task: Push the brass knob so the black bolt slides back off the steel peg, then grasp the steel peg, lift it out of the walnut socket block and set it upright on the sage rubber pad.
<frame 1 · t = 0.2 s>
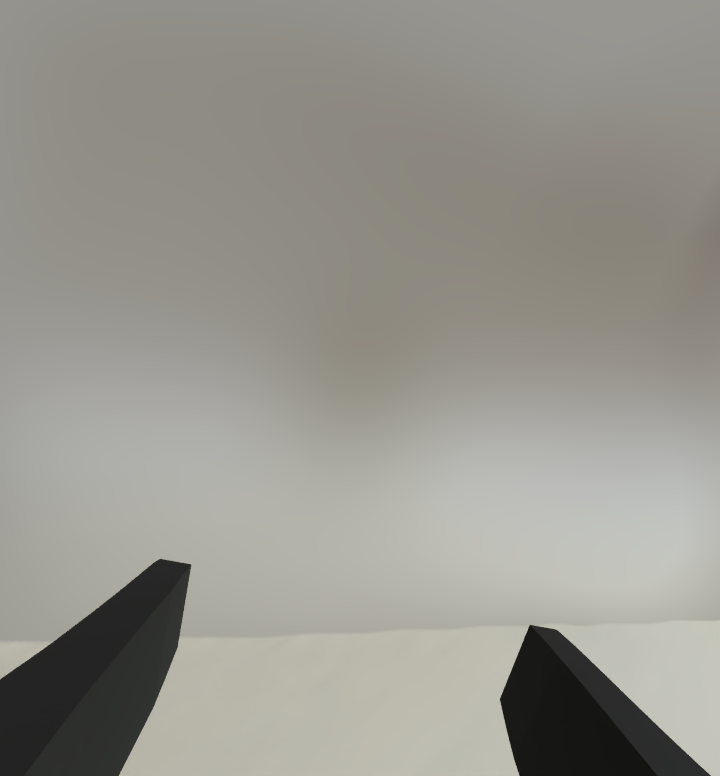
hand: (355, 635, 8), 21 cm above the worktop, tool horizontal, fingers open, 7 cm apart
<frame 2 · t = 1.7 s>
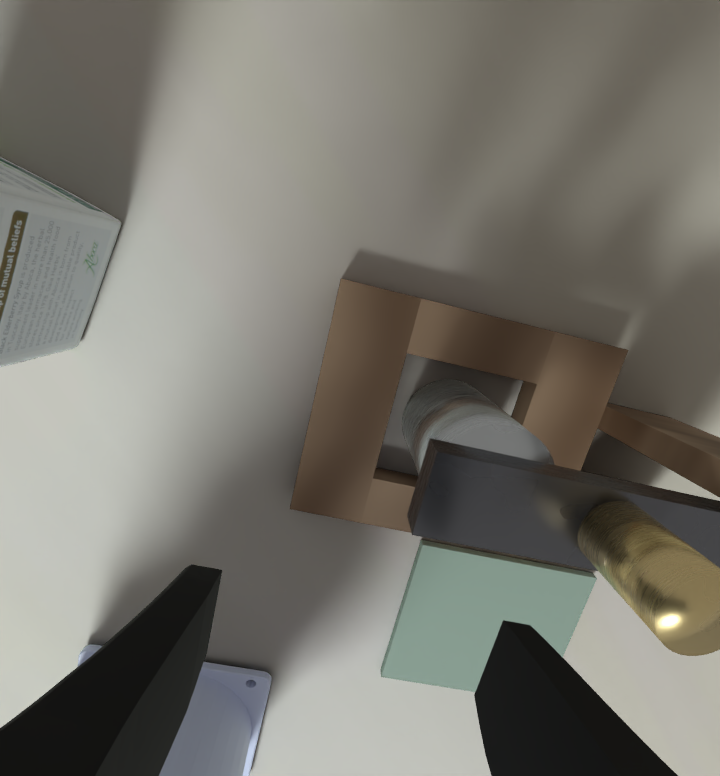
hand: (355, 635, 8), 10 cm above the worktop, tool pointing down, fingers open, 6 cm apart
black bolt: (690, 566, 11), point 8 cm above the worktop, slide at 0.0 cm
syrup box: (36, 256, 16), on the worktop
sage rubber pad: (483, 622, 21), on the worktop
walnut socket block: (446, 422, 18), on the worktop
steel peg: (446, 422, 19), resting in walnut socket block
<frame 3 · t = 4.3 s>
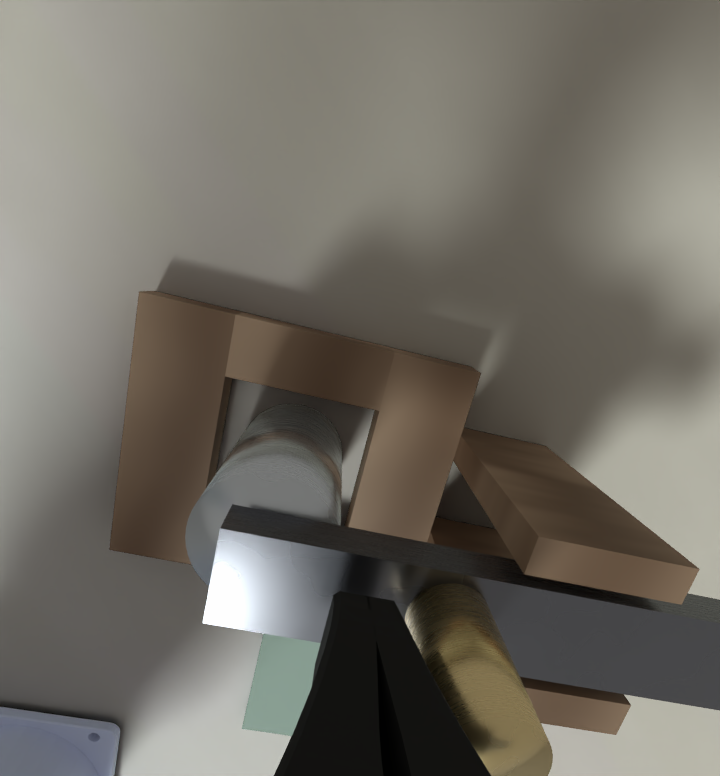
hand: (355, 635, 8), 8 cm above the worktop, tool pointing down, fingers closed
black bolt: (525, 668, 9), point 9 cm above the worktop, slide at 1.6 cm, touching gripper
sage rubber pad: (354, 669, 19), on the worktop
walnut socket block: (292, 452, 16), on the worktop
steel peg: (292, 451, 16), resting in walnut socket block
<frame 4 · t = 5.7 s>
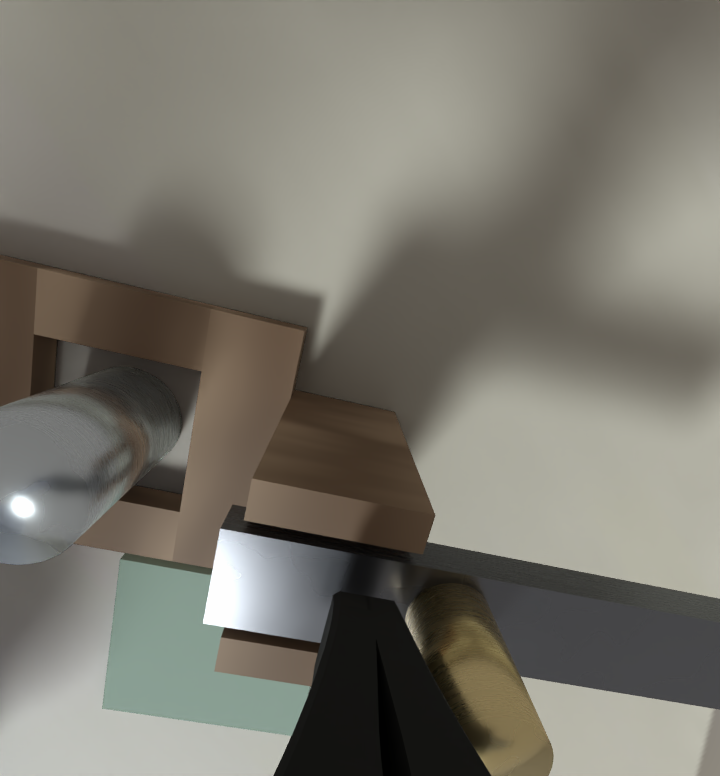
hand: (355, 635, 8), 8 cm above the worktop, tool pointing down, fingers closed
black bolt: (526, 668, 9), point 8 cm above the worktop, slide at 8.0 cm, touching gripper
sage rubber pad: (217, 646, 19), on the worktop
walnut socket block: (128, 418, 16), on the worktop
steel peg: (128, 417, 16), resting in walnut socket block
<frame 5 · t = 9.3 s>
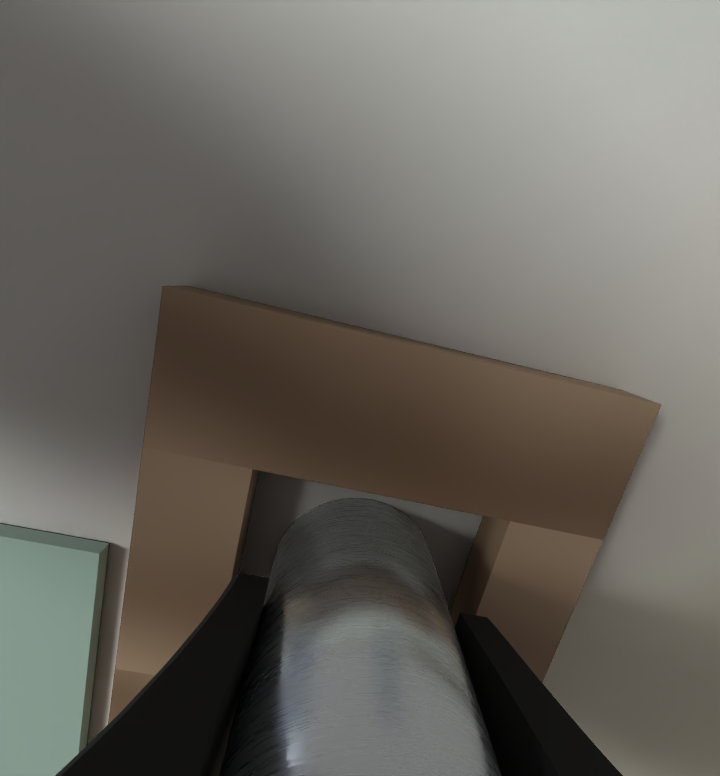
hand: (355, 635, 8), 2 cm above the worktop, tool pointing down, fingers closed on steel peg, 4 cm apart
walnut socket block: (353, 569, 10), on the worktop
steel peg: (353, 569, 10), resting in walnut socket block, touching gripper
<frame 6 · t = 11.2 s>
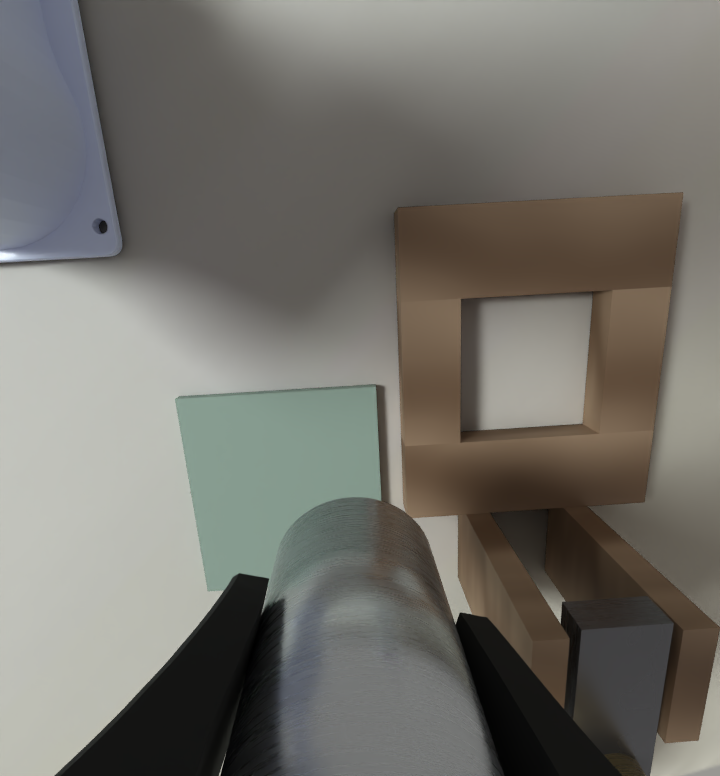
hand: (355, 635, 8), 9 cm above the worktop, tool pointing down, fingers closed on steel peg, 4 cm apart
sage rubber pad: (288, 490, 18), on the worktop
walnut socket block: (520, 363, 17), on the worktop
steel peg: (354, 568, 10), point 7 cm above the worktop, touching gripper
when the fingers open (4 cm above the worktop, at t = 12.9 s): steel peg drops 1 cm, resting on sage rubber pad.
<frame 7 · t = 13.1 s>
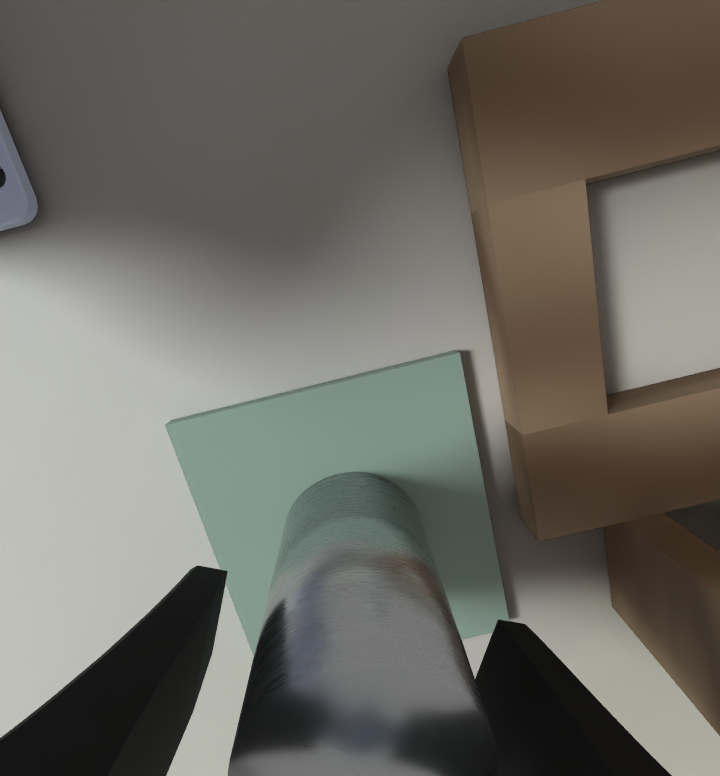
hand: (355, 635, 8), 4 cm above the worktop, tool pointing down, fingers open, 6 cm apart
sage rubber pad: (352, 527, 12), on the worktop
walnut socket block: (674, 277, 11), on the worktop
steel peg: (353, 535, 12), resting on sage rubber pad
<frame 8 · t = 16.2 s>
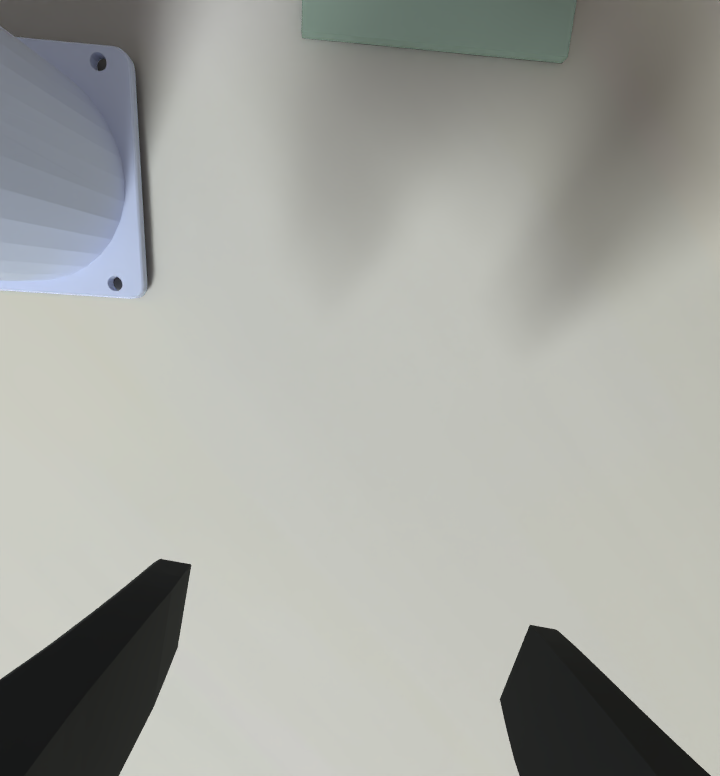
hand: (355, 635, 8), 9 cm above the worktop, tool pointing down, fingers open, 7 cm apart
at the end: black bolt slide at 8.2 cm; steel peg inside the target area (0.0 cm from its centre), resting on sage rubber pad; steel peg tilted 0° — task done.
